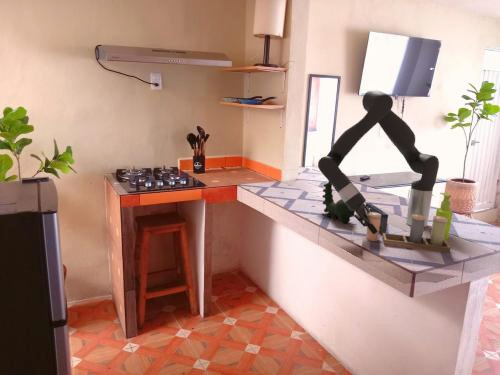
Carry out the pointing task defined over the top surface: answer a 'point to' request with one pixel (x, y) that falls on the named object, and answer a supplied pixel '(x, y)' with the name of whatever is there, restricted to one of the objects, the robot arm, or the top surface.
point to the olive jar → (438, 230)
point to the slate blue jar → (417, 228)
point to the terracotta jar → (376, 222)
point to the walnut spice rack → (404, 242)
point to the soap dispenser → (445, 213)
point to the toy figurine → (336, 206)
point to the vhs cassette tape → (383, 217)
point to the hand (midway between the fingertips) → (377, 230)
